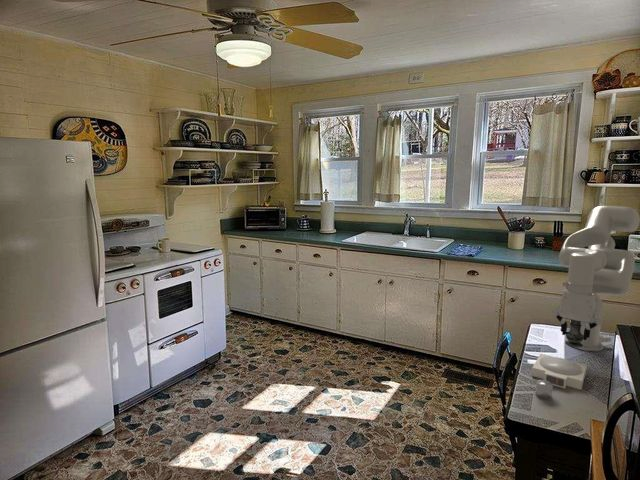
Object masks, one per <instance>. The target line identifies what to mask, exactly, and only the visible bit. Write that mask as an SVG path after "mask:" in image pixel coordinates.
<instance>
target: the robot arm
mask: <svg viewBox="0 0 640 480" xmlns="http://www.w3.org/2000/svg"><path fill="white" fill-rule="evenodd" d="M586 218H587V219H586V223H585V226H584V228H583V229H580V230H578V231H575V232H574V233H572V234H570V235H569V236H568V237H567V238H566V239H565V240H564V242H563V244H562V246H561V249H560V252H559V255H558V260H559V263H560V265H561V266H563V267H565V268H568V274H567V281H563V282H562V283H561V285H562V286H563V287H565V289H564V290H563V292H562V295H561V299H560V305H559V306H558V307H556V308H554V309H553V310H552V311H551V312H552V314H553V315H554V317H556V319H557V320H558V321H559V323H560V324H561V325H560V332H562V333H561V335H562V336H566V334H565V333H566V332H568V329H567V328H568V322H567V320H575V321H580V322H581V325H582V326H581V328H580V332H581V334H583V335H584V337H583V340H582V341H581V342H580V343H581V344H582V345H583V346H582V347H573V348H575V349H578V350H582V351H586V352H600V351H602V350H603V349H604V345H603V344H602V343H604V342H605V343H611V342H612V337H611V336H603V335H602V334H601V327H602V324H603V322H604V320H603V319H602V318H603V311H604V302H603V300H602V298H601V297H600V296H599V294H604V295H609V296H616V297H623V296H625V295H627V293H629V289H630V286H631V283H632V277H633V274H634V268H635V264H636V263H635V255H634V254H633V252H631V251H630V250H627V249H618V248H615V247H616V242H615V240H614V239H613V238H612V236H611V233H612V232H624V233H625V232H626V233H634V232H636V231H637V229H638V228H639V226H640V214H639V213H638V211H637V210H636V209H634V208H633V207H630V206H614V205H600V206H599V205H598V206H596V207H594V208H592V210H591V211H590V212H589V214H588V215H587V217H586ZM585 247H586V248H585ZM566 341H568V339H567V337H565V339H564V343H565V342H566Z"/></svg>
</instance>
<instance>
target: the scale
mask: <svg viewBox="0 0 640 480" xmlns="http://www.w3.org/2000/svg"><path fill="white" fill-rule="evenodd" d="M531 368H532V369H531V377H534V378H537V379H540V380H546V381H549V382H551V383H552V384H553V387H554V386H555V387H556V388H557V387H558V388H561V389H565V390H566V388H567V387H570V388H574V389H577V390H582V389H583V385H584V382H585V379H586V375H587V369H588V364H585V363H580V362H577V361H572V360H569V359H566V358H562V357H558V356H552V355H548V354H545V353H544V354H543V353H539V356H538V357H537V359H536V361H535V362H534V364H533V366H532V367H531Z"/></svg>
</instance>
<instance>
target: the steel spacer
mask: <svg viewBox="0 0 640 480" xmlns="http://www.w3.org/2000/svg"><path fill="white" fill-rule="evenodd" d="M535 382H536V383H535V392H534V395H535V396H536V397H538V398H539V399H542V400H546V401H547V400H551V399H552V398H553V390H554V389H553V388H554V385H553V384H552V383H551V382H549V381H546V380H544V379H538V380H536V381H535Z"/></svg>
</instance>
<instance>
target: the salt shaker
mask: <svg viewBox="0 0 640 480" xmlns="http://www.w3.org/2000/svg"><path fill="white" fill-rule="evenodd" d="M570 320H571V319H570ZM569 325H570V328H569V329H570V330H569V331H568V330H567V332H566V333H565V338H567V339H568V341H566V342H565V341H564V344H566V345H567V346H569V347H572V348H574V347H582V346H583V345H582V344H581V343H580V342H581V341H582V340H583V337H584V335H583V334H581V332H580V328H581V326H582V325H581V322H580V321H575V320H571V322H570V323H569Z"/></svg>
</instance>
